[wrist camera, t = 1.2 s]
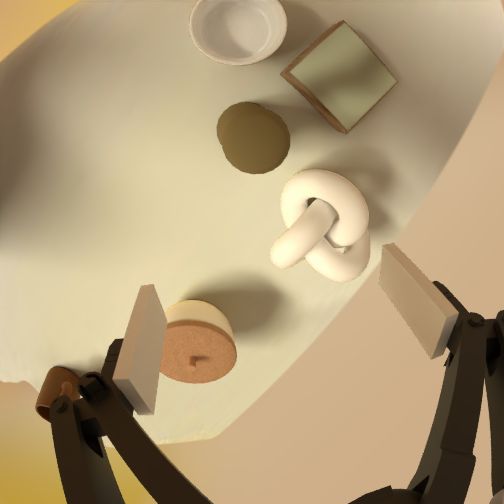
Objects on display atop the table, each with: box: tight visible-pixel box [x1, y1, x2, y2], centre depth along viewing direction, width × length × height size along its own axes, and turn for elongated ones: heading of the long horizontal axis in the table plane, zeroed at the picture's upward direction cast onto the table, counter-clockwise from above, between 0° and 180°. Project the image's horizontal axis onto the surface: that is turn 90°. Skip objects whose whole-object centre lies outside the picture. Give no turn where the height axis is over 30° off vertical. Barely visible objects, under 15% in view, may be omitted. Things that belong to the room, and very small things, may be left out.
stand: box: [280, 20, 398, 134], centre depth 27 cm, size 9×9×3 cm
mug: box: [35, 367, 80, 423], centre depth 41 cm, size 12×8×9 cm, turn 137°
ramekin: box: [189, 0, 288, 66], centre depth 23 cm, size 9×9×4 cm
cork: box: [217, 102, 290, 174], centre depth 25 cm, size 6×6×11 cm
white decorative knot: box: [270, 169, 370, 282], centre depth 31 cm, size 11×12×9 cm
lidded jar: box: [160, 300, 237, 383], centre depth 37 cm, size 11×11×9 cm
